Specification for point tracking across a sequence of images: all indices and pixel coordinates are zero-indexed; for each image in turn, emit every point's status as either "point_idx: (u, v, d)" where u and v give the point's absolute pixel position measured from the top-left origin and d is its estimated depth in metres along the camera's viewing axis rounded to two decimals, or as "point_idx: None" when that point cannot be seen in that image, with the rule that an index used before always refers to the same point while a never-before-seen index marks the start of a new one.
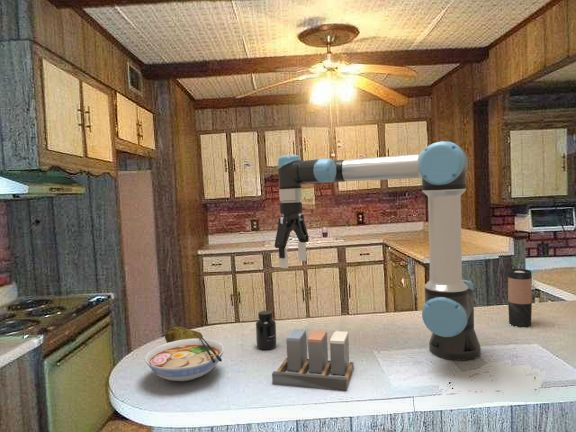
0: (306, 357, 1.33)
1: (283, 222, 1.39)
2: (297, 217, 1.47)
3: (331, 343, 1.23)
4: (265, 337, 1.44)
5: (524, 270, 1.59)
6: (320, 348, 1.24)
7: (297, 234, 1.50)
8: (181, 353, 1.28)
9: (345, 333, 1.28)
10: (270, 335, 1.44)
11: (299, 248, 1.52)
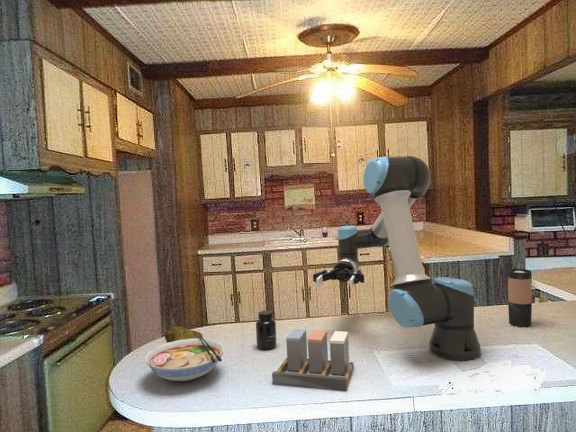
0: (306, 357, 1.33)
1: None
2: (348, 270, 1.56)
3: (331, 343, 1.23)
4: (265, 337, 1.44)
5: (524, 270, 1.59)
6: (320, 348, 1.24)
7: (350, 279, 1.50)
8: (181, 353, 1.28)
9: (345, 333, 1.28)
10: (270, 335, 1.44)
11: None
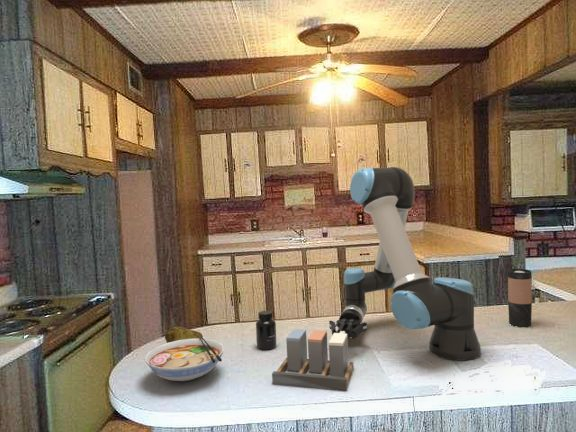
0: (306, 357, 1.33)
1: (330, 323, 1.45)
2: (356, 320, 1.46)
3: (330, 345, 1.22)
4: (265, 337, 1.44)
5: (524, 270, 1.59)
6: (320, 348, 1.24)
7: None
8: (181, 353, 1.28)
9: (344, 335, 1.27)
10: (270, 335, 1.44)
11: None
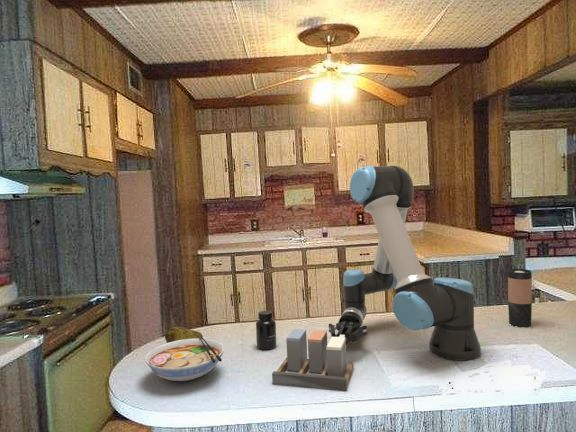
0: (306, 357, 1.33)
1: (329, 326, 1.42)
2: (356, 323, 1.43)
3: (328, 349, 1.18)
4: (265, 337, 1.44)
5: (524, 270, 1.59)
6: (320, 348, 1.24)
7: None
8: (181, 353, 1.28)
9: (342, 339, 1.24)
10: (270, 335, 1.44)
11: None
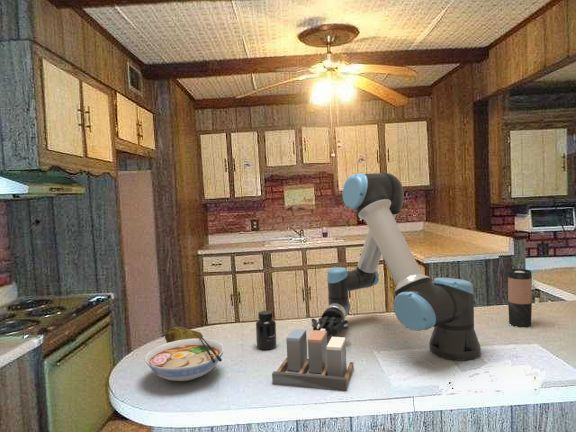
0: (306, 357, 1.33)
1: (312, 321, 1.48)
2: (338, 318, 1.49)
3: (328, 349, 1.18)
4: (265, 337, 1.44)
5: (524, 270, 1.59)
6: (320, 348, 1.24)
7: None
8: (181, 353, 1.28)
9: (342, 339, 1.24)
10: (270, 335, 1.44)
11: None
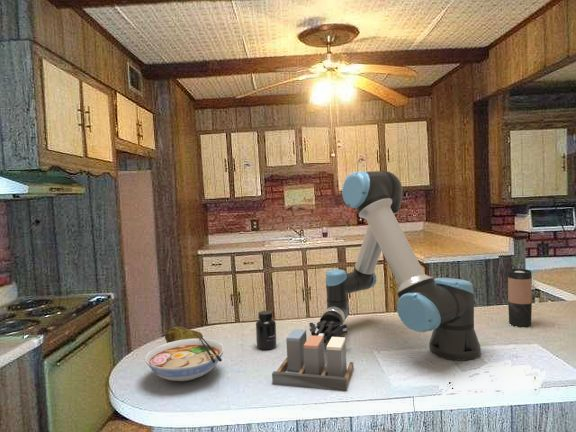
0: None
1: (310, 325, 1.44)
2: (336, 322, 1.45)
3: (328, 349, 1.18)
4: (265, 337, 1.44)
5: (524, 270, 1.59)
6: (316, 354, 1.19)
7: None
8: (181, 353, 1.28)
9: (342, 339, 1.24)
10: (270, 335, 1.44)
11: None
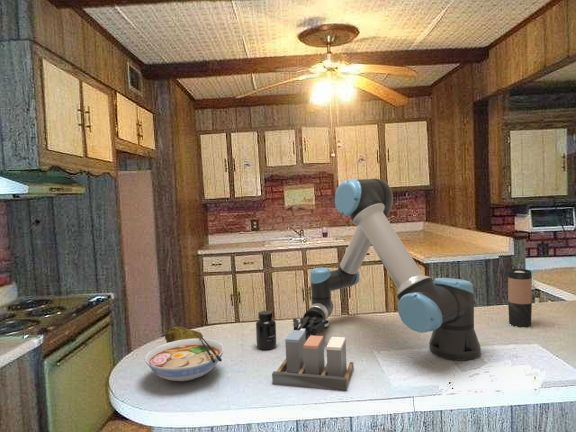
0: None
1: (294, 321, 1.49)
2: (319, 318, 1.50)
3: (328, 349, 1.18)
4: (265, 337, 1.44)
5: (524, 270, 1.59)
6: (316, 354, 1.19)
7: None
8: (181, 353, 1.28)
9: (342, 339, 1.24)
10: (270, 335, 1.44)
11: None
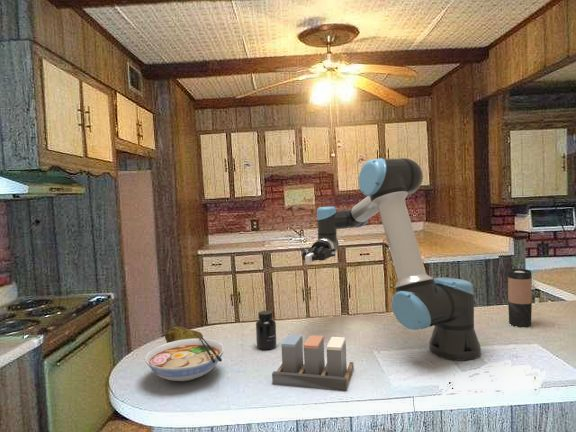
0: (302, 363, 1.28)
1: (302, 251, 1.57)
2: (326, 248, 1.58)
3: (328, 349, 1.18)
4: (265, 337, 1.44)
5: (524, 270, 1.59)
6: (316, 354, 1.19)
7: None
8: (181, 353, 1.28)
9: (342, 339, 1.24)
10: (270, 335, 1.44)
11: None
